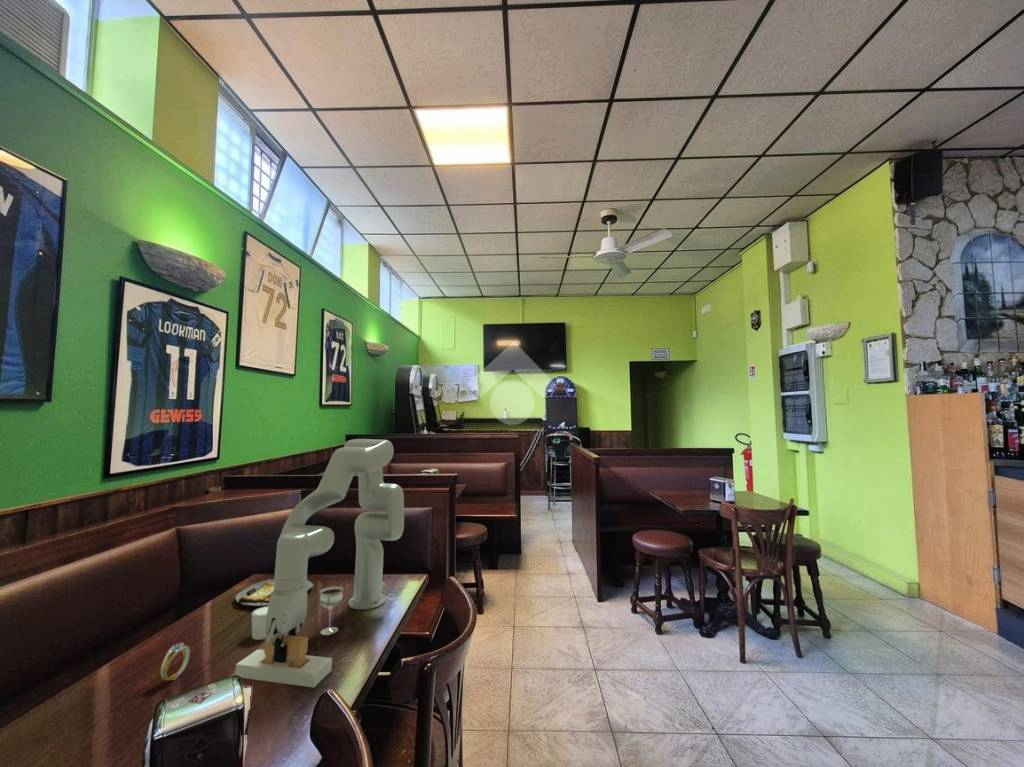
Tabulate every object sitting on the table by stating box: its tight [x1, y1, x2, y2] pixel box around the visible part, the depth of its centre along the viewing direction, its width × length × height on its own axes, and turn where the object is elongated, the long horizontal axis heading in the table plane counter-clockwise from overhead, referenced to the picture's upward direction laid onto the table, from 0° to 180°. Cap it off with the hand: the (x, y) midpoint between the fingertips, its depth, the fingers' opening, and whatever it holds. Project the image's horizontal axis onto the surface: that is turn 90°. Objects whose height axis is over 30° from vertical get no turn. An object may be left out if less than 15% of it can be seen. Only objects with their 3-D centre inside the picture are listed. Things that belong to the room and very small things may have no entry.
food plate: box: [234, 578, 314, 608], centre depth 150 cm, size 25×23×4 cm
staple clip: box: [263, 635, 309, 668], centre depth 103 cm, size 3×10×8 cm, turn 80°
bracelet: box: [160, 642, 191, 682], centre depth 101 cm, size 7×3×8 cm, turn 172°
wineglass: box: [318, 585, 344, 636], centre depth 125 cm, size 7×7×12 cm
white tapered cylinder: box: [251, 605, 269, 640], centre depth 122 cm, size 7×7×7 cm
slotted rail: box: [234, 649, 333, 688], centre depth 103 cm, size 7×22×3 cm, turn 80°
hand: (285, 656), depth 103 cm, fingers closed on staple clip, 3 cm apart
